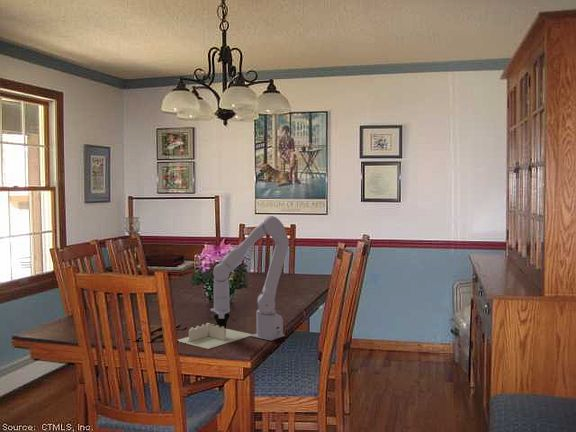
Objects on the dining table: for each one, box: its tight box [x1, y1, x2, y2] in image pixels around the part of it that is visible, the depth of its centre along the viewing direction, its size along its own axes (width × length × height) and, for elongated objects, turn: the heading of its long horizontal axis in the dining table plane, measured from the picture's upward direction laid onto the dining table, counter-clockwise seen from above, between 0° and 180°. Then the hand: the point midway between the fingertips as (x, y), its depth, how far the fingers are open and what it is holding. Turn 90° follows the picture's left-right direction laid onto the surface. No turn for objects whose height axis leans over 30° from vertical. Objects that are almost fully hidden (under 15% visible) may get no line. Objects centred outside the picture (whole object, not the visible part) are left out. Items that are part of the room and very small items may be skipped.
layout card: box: [177, 328, 255, 350], centre depth 211 cm, size 17×23×1 cm
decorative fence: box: [137, 323, 188, 343], centre depth 218 cm, size 23×2×15 cm
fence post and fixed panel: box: [188, 322, 211, 341], centre depth 210 cm, size 2×10×5 cm, turn 141°
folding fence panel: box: [210, 323, 227, 340], centre depth 209 cm, size 8×1×5 cm, turn 48°
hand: (221, 333), depth 211 cm, fingers closed
